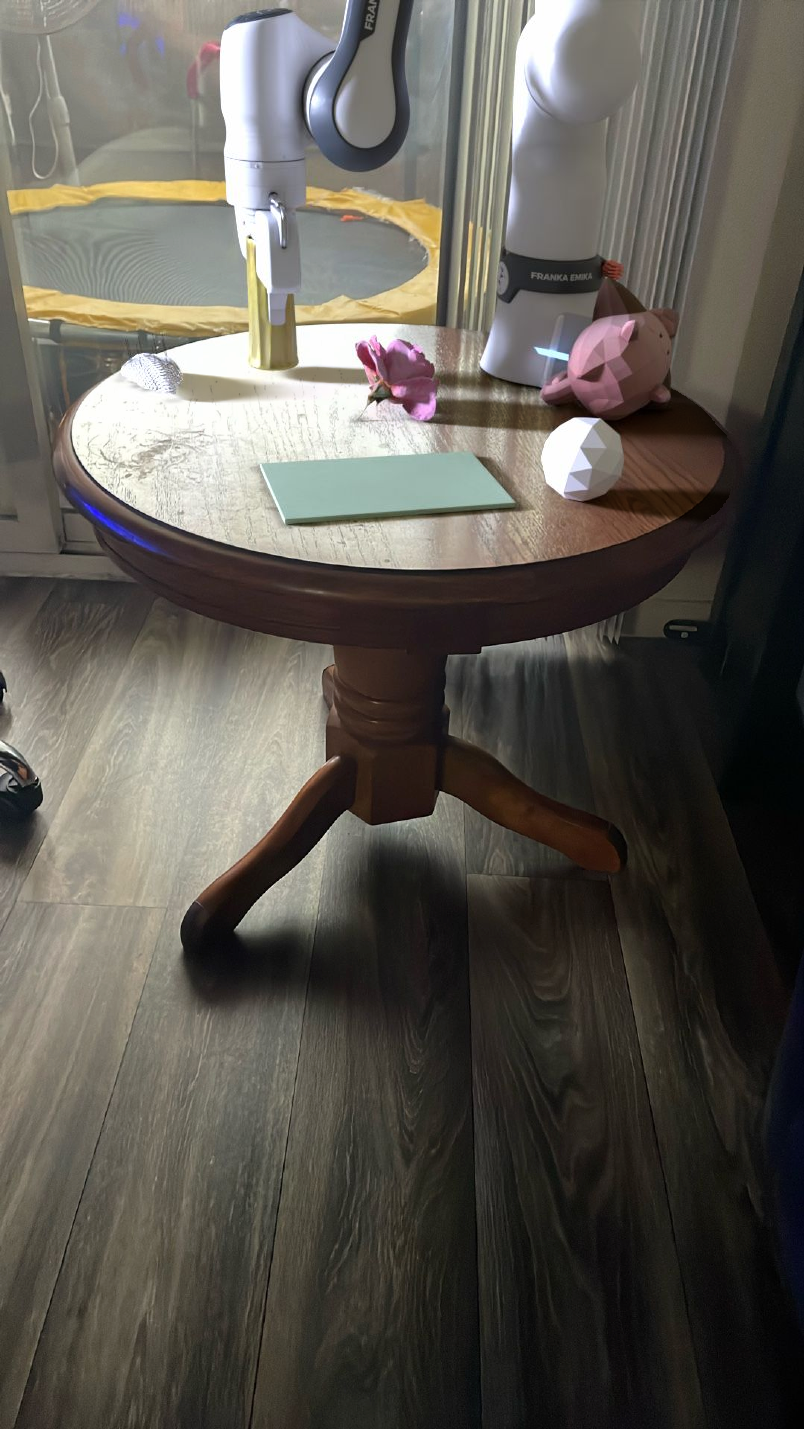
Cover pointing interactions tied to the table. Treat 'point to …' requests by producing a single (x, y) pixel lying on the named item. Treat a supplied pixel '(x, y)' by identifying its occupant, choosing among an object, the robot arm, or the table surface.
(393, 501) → the mat
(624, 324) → the toy
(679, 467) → the table surface
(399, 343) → the flower
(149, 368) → the pincushion
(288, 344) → the vase
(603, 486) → the geometric ball
